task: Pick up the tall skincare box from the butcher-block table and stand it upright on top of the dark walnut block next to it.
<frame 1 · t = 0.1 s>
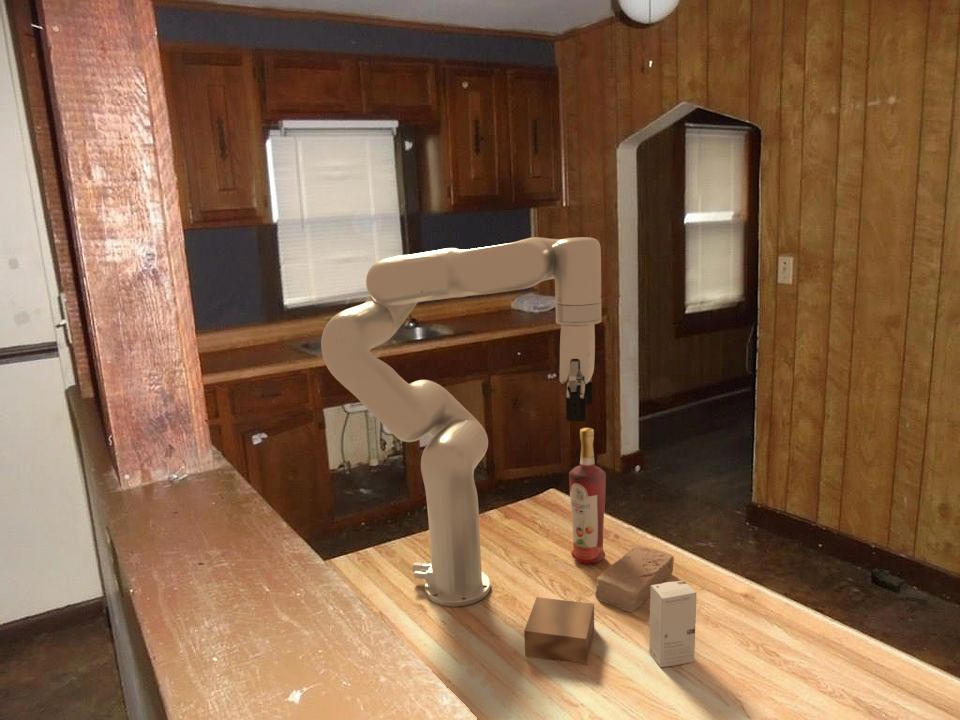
hand: (580, 411, 119), 37 cm above the counter, tool pointing down, fingers open, 9 cm apart
liquor: (588, 560, 143), on the counter
brick: (635, 588, 133), on the counter
walnut block: (560, 643, 117), on the counter
skincare box: (671, 657, 112), on the counter
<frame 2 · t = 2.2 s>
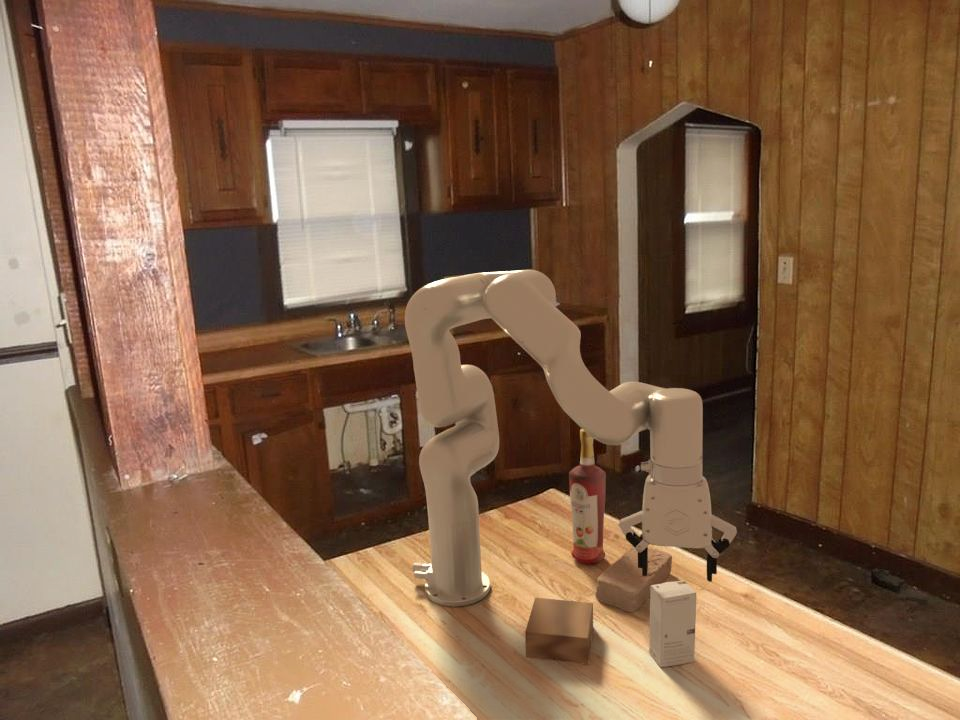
hand: (676, 574, 109), 15 cm above the counter, tool pointing down, fingers open, 9 cm apart
nothing on the counter moved.
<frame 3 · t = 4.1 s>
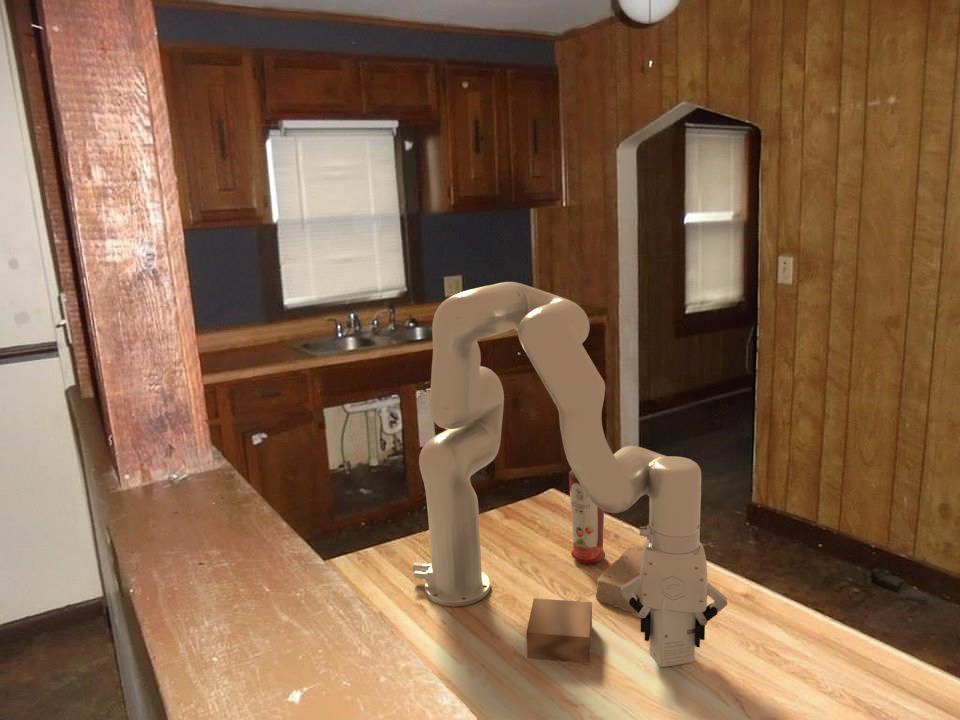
hand: (672, 638, 111), 3 cm above the counter, tool pointing down, fingers closed on skincare box, 7 cm apart
skincare box: (671, 657, 112), on the counter, touching gripper
everything else where it was.
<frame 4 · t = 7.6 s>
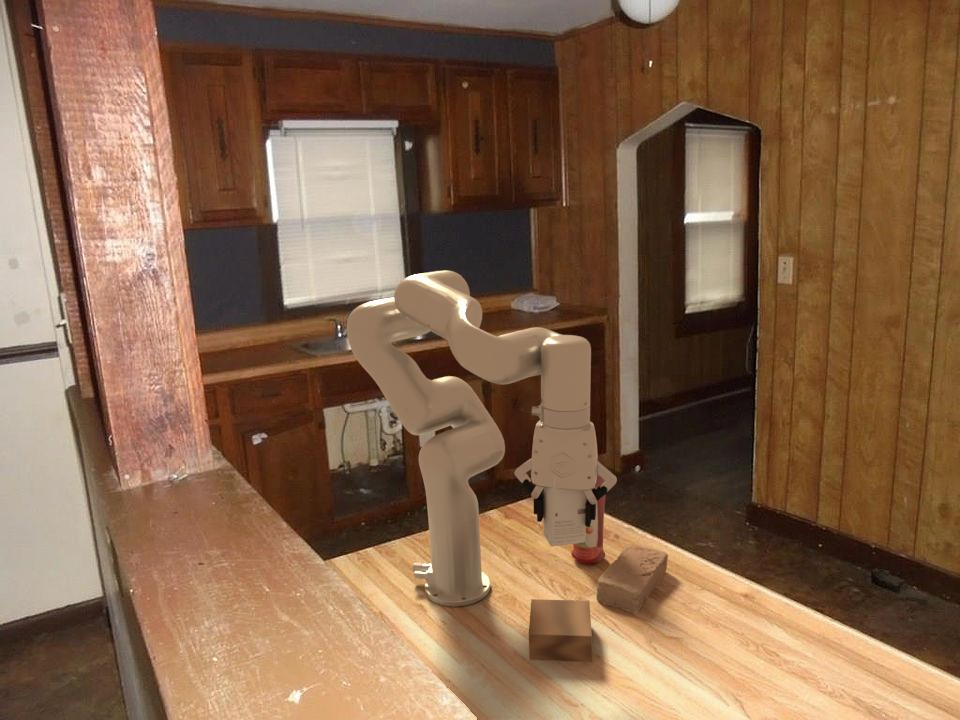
hand: (564, 519, 112), 22 cm above the counter, tool pointing down, fingers closed on skincare box, 7 cm apart
skincare box: (564, 539, 113), point 19 cm above the counter, touching gripper
everything else where it was.
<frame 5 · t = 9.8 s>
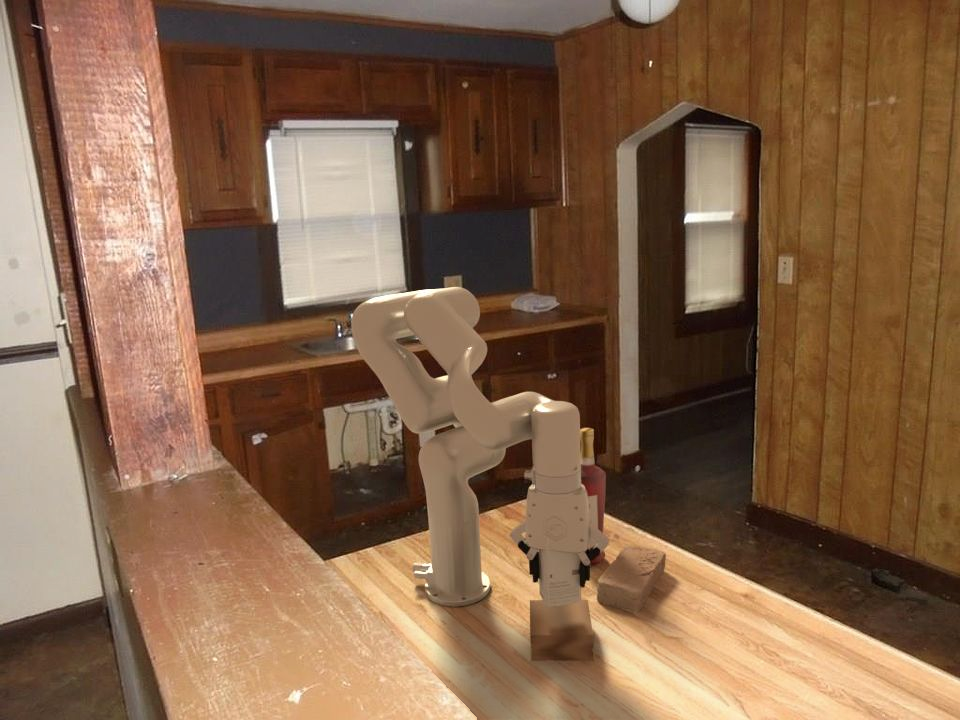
hand: (559, 580, 114), 11 cm above the counter, tool pointing down, fingers closed on skincare box, 7 cm apart
skincare box: (560, 599, 115), point 8 cm above the counter, touching gripper
everything else where it was.
when the fingers open (9 cm above the counter, at t = 11.3 s): skincare box drops 1 cm, resting on walnut block.
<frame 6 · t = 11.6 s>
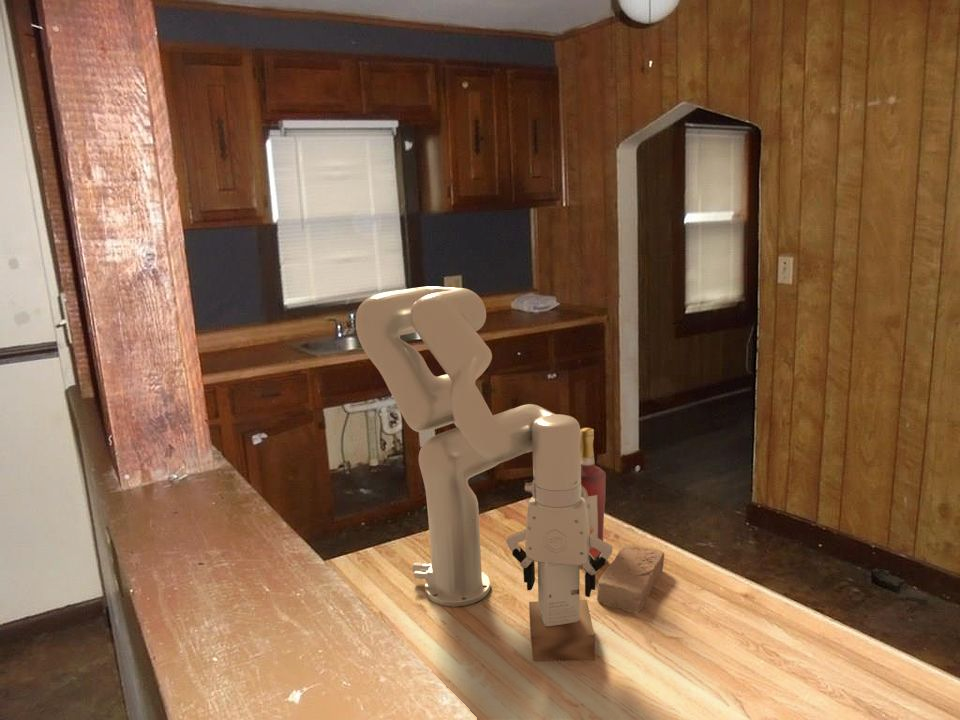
hand: (559, 589, 115), 10 cm above the counter, tool pointing down, fingers open, 9 cm apart
walnut block: (561, 644, 117), on the counter, touching skincare box
skincare box: (559, 618, 116), point 4 cm above the counter, touching walnut block
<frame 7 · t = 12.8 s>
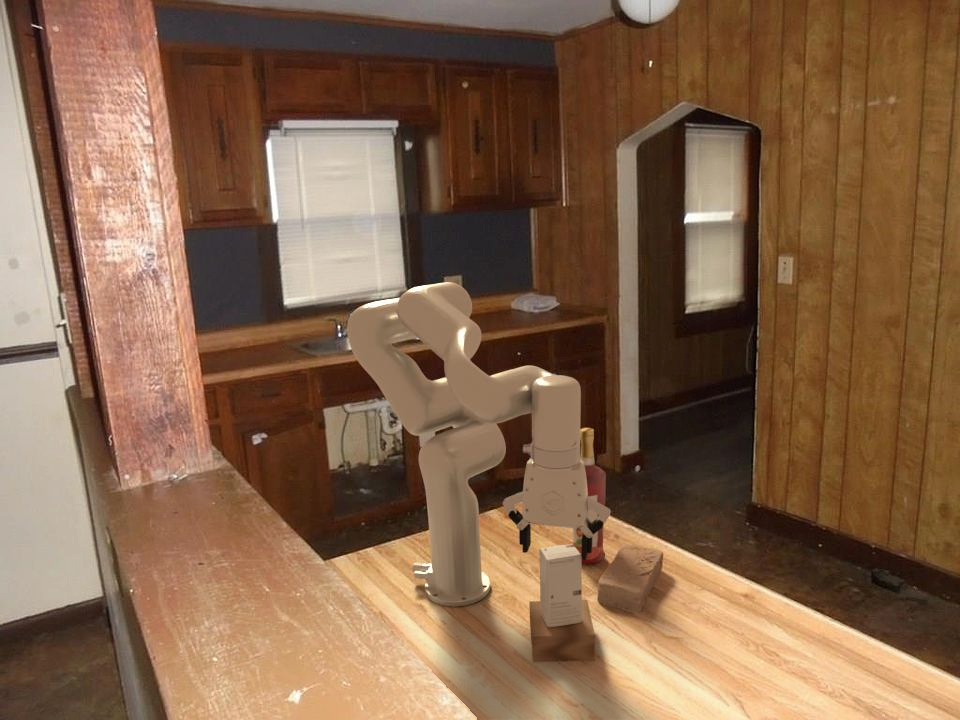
hand: (555, 552, 114), 16 cm above the counter, tool pointing down, fingers open, 9 cm apart
nothing on the counter moved.
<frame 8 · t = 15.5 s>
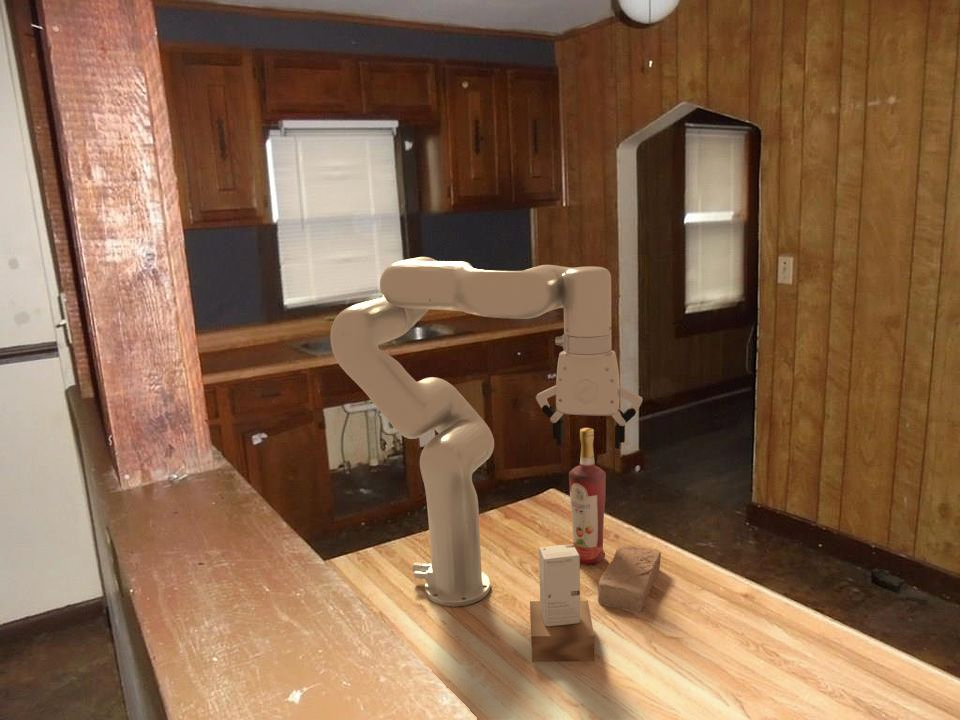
hand: (588, 444, 116), 32 cm above the counter, tool pointing down, fingers open, 9 cm apart
at the end: skincare box 0.2 cm off-centre on the walnut block, point 5.1 cm above the walnut block's base; skincare box tilted 6°; the gripper is holding nothing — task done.
